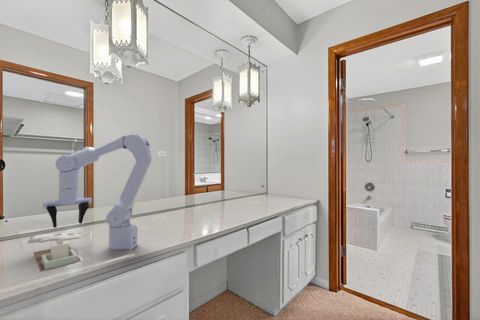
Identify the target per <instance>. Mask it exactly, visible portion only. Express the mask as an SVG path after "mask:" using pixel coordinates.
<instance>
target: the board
mask: <svg viewBox="0 0 480 320" xmlns="http://www.w3.org/2000/svg"><path fill="white" fill-rule="evenodd" d="M69 249H72V248H71V246H70V245H69ZM50 253H51V248H48V249H43V250H39V251H33V255H34V257H35V260H36V263H37V266H38V268H39V271H40V272H41V273H42V272H46V271H49V270H53V269H57V268H61V267H65V266H69V265H73V264H77V263H81V262H82V260H81V258H80V257H79V256H78V262H74V263H70V264H66V265H62V266H58V267H54V268H51V269H47V270H45V269H44V266H43V264H42V262H41V260H42V255H45V254H50Z"/></svg>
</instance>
